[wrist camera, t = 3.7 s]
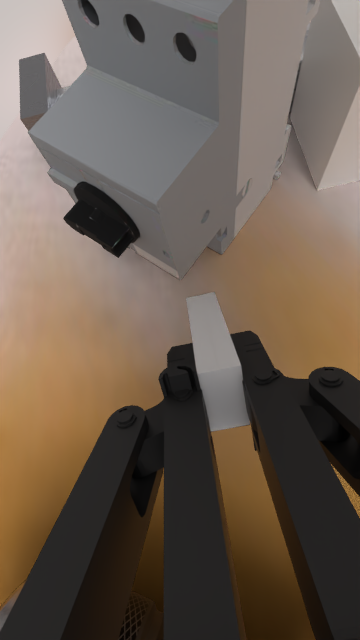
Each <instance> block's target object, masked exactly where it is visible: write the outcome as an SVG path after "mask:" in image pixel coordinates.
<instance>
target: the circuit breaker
mask: <svg viewBox="0 0 360 640" xmlns="http://www.w3.org/2000/svg"><path fill="white" fill-rule="evenodd" d="M62 1H63V4H64V6H65V9H66V11H67V14H68V17H69V19H70V22H71V24H72V27H73V30H74V32H75V35H76V38H77V40H78V43H79V45H80V48H81V50H82V53H83V56H84V58H85V61H86V63H87V69H86V70H85V71H84V72H83V73H82V74H81V75H80V76H79V77H78V79H77V80H76V81H75V82H74V83H73V84H72V85H71V86H70V87H69V88H68V89H67V90H66V92H65V93H64V94H63V95H62V96H61V97H60V98H59V99H58V100H57V101H56V102H55V103H54V104H53V106H52V107H51V108H50V109H49V110H48V111H47V112H46V113H45V114H44V115H43V116H42V117H41V119H40V120H39V121H38V122H37V123H36V124H35V125H34V126H33V127H32V128H31V129H30V130H29V132H28V133H29V135H30V137H31V138H32V140H33V142H34V143H35V144H36V146H37V148H38V149H39V151H40V152H41V153H42V155H43V156H44V158H45V159H46V161H47V162H48V164H49V165H50V167H51V168H50V170H49V171H48V172H47V173H48V174H49V176H50V177H51V178H52V180H53V181H54V182H55V183H57V184H58V185H60V186H62V187H63V188H65V189H66V190H67V191H68V193H69V194H70V196H71V197H72V198H73V200H74V201H75V203H76V204H75V205H74V206H73V207H72V209H71V210H70V211H69V212H68V213H67V214H66V215H65V217H64V218H63V219H64V220H65V221H66V223H67V224H68V225H70V226H71V227H72V228H73V229H74V230H76V231H77V232H79V233H80V234H82V235H86V236H88V237H89V238H91V239H93V240H94V241H96V242H97V243H99V244H100V245H102V247H103V248H104V249H105V250H107V251H109V252H110V253H112V254H113V255H115V256H116V257H118V258H119V257H120V256H121V254H122V253H123V252H124V251H125V250H126V248H132V249H133V250H135V251H136V253H137V254H139V255H140V256H142V257H143V258H145V259H147V260H148V261H150V262H151V263H153V264H155V265H156V266H158V267H159V268H161V269H163V270H164V271H166V272H168V273H169V274H171V275H172V276H174V277H176V278H177V279H179V280H182V278H183V277H184V276H185V274H186V273H187V272H188V270H189V269H190V268H191V266H192V265H193V264H194V263H195V261H196V260H197V259H198V257H199V256H200V255H201V253H202V252H203V251H204V249H205V248H206V247H209V248H211V249H212V250H214V251H216V252H218V253H219V254H221V255H222V254H223V253H224V252H225V250H226V249H227V247H228V246H229V245H230V243H231V242H232V241H233V239H234V238H235V237H236V235H237V234H238V233H239V231H240V230H241V229H242V227H243V226H244V224H245V223H246V222H247V220H248V219H249V218H250V216H251V215H252V214H253V212H254V211H255V210H256V208H257V207H258V205H259V204H260V203H261V201H262V200H263V199H264V197H265V196H266V195H267V193H268V192H269V191H270V189H271V186H272V181H273V178H274V179H276V180H278V178H279V177H280V175H281V172H278V171H277V169H278V168H279V167H280V165H281V164H282V163H283V161H284V157H285V153H286V148H287V144H288V140H289V135H290V131H291V127H292V126H291V125H288V124H287V120H288V115H289V110H290V106H291V101H292V96H293V91H294V87H295V82H296V77H297V72H298V68H299V63H300V58H301V53H302V49H303V44H304V39H305V34H306V30H307V25H308V24H309V23H310V21H311V20H312V19H313V18H314V16H315V15H316V14H317V13H318V8H319V4H320V0H62Z"/></svg>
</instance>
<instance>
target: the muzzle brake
mask: <svg viewBox="0 0 360 640" xmlns="http://www.w3.org/2000/svg"><path fill="white" fill-rule="evenodd" d="M25 582H26V580H25V581H24V582H23V583H22V584H21V585H20V586H19V587H18V588H17V589H16V590H15V591H14V592H13V593H12V594H11V595H10V596H9V597H8V598H7V600H6V601H5V602H4V603H3V604H2V605H1V606H0V631H1V629H2V627H3V625H4V623H5V621H6V619H7V617H8V615H9V613H10V611H11V609H12V607H13V605H14V603H15V601H16V600H17V598H18V596H19V594H20V592H21V590H22V588H23V586H24V584H25ZM118 640H164V613H162V612H160V611H158V610H157V609H156V605H155V602H154V601H153V600H151V599H149V598H147V597H145V596H142V595H140V594H138V593H136V592H134V591H132V590H131V594H130V597H129V601H128V605H127V609H126V612H125V616H124V620H123V624H122V627H121V631H120V635H119V639H118Z"/></svg>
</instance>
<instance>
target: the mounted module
mask: <svg viewBox="0 0 360 640" xmlns="http://www.w3.org/2000/svg"><path fill="white" fill-rule="evenodd" d="M290 119H291V122H292V124H293V127H294V130H295V132H296V135H297V138H298V141H299V143H300V146H301V149H302V151H303V154H304V157H305V160H306V162H307V165H308V168H309V170H310V173H311V176H312V178H313V181H314V184H315V187H316V189H317V191H318V190H322V189H326V188H331V187H335V186H339V185H344V184H348V183H353V182H357V181H360V0H320V4H319V8H318V13H317V14H316V15H315V16H314V18H313V19H312V20H311V23H310V27H309V32H308V36H307V41H306V46H305V50H304V55H303V59H302V64H301V69H300V73H299V78H298V83H297V87H296V92H295V96H294V101H293V106H292V110H291V115H290Z"/></svg>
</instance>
